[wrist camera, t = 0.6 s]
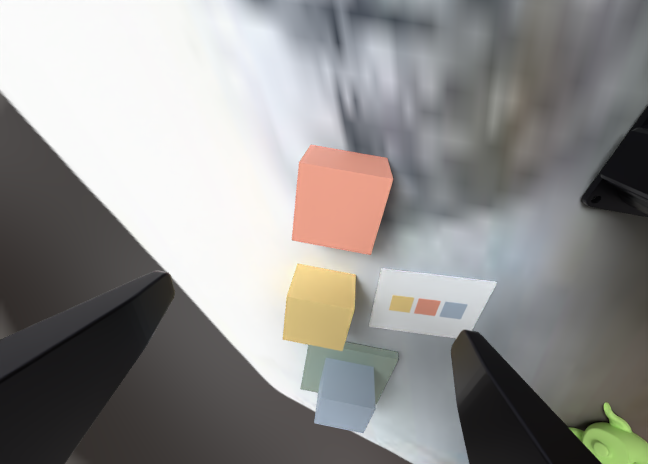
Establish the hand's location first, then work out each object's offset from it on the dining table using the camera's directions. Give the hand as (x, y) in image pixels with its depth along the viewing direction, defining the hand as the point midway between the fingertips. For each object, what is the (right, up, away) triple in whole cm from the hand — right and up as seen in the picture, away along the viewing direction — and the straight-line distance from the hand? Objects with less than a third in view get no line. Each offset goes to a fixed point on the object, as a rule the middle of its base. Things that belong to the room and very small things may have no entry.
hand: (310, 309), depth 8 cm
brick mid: (+2, +6, +11) cm, 12 cm away
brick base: (+3, -13, +21) cm, 25 cm away
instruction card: (+9, -4, +15) cm, 18 cm away
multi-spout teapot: (+30, -18, +21) cm, 41 cm away
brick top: (0, -3, +16) cm, 16 cm away
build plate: (+3, -13, +21) cm, 25 cm away
